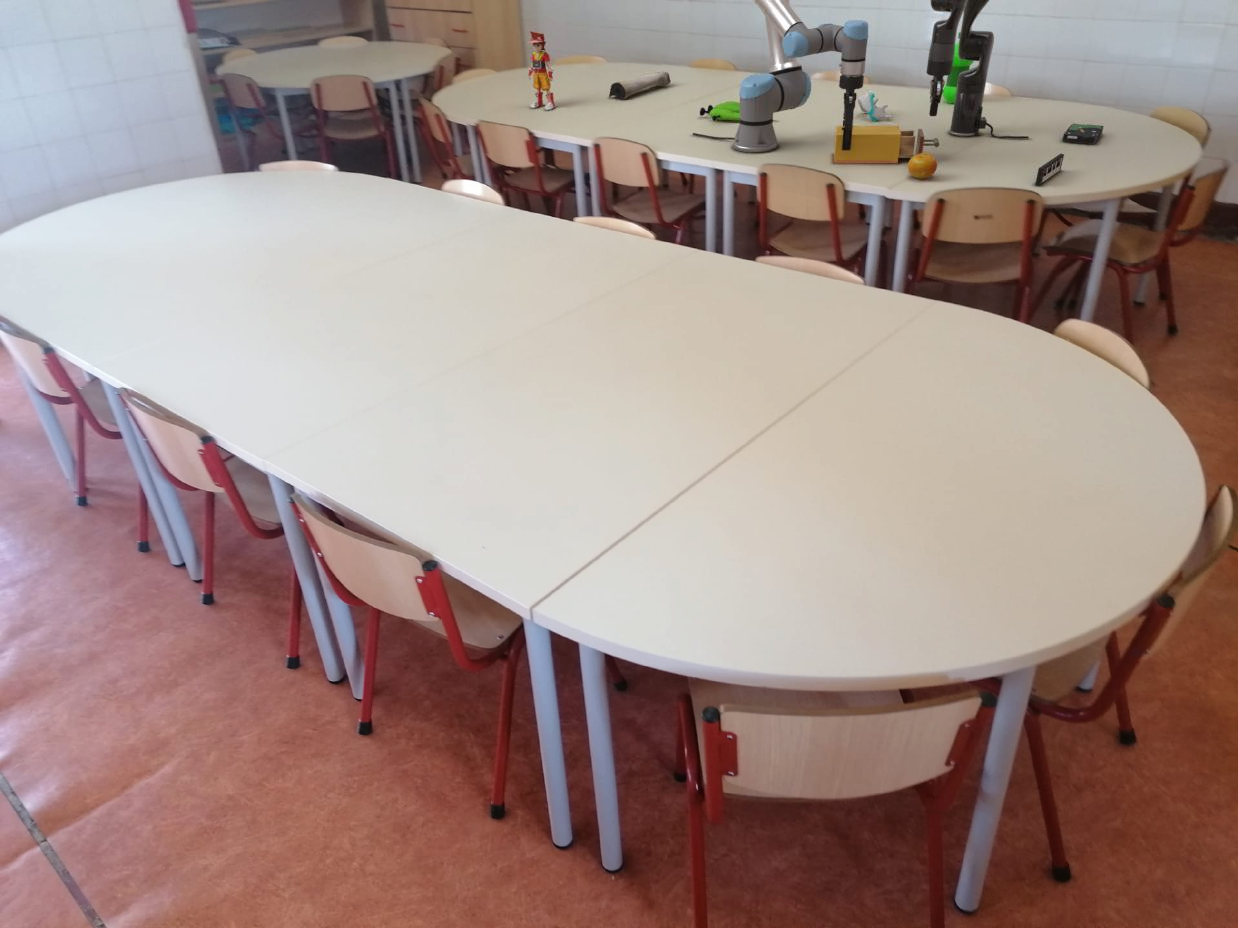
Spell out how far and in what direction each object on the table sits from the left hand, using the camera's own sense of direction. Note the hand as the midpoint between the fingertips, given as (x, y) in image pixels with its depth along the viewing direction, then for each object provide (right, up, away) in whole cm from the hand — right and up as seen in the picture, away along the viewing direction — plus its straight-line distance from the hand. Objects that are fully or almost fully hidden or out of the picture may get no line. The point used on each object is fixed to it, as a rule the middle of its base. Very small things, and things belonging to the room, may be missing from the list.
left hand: (845, 145), depth 299 cm
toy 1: (-109, +46, +84) cm, 145 cm away
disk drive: (+83, +5, +8) cm, 83 cm away
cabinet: (+7, -4, +1) cm, 8 cm away
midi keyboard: (+56, -19, -24) cm, 64 cm away
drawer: (+17, -4, -1) cm, 18 cm away
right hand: (+25, +6, -10) cm, 28 cm away
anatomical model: (+21, +26, +44) cm, 56 cm away
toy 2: (-28, +29, +53) cm, 67 cm away
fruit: (+19, -16, -18) cm, 31 cm away
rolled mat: (-66, +58, +98) cm, 132 cm away
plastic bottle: (+57, +37, +56) cm, 88 cm away
